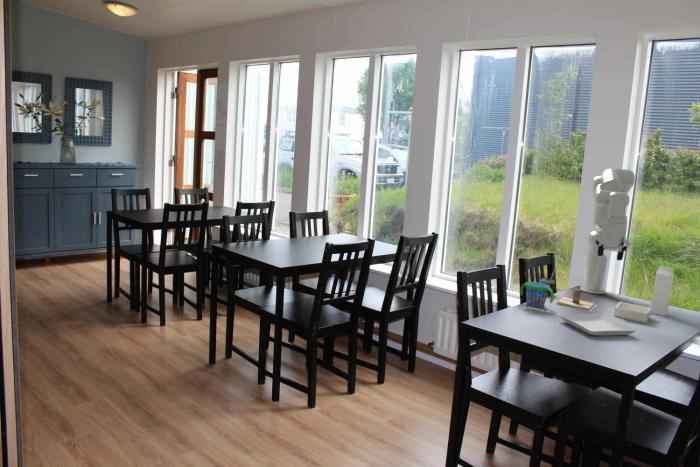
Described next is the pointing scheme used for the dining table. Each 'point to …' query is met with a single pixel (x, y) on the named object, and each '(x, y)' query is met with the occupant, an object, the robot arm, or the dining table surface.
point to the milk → (662, 290)
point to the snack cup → (536, 293)
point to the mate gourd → (549, 282)
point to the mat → (579, 309)
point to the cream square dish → (632, 312)
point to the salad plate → (597, 324)
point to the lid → (576, 301)
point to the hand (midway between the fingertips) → (609, 257)
